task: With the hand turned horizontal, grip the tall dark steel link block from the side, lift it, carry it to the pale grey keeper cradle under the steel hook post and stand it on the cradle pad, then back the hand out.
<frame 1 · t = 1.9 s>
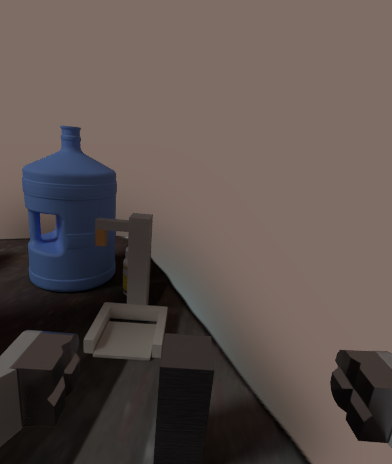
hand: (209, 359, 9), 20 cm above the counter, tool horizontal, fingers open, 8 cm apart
link block: (177, 452, 26), on the counter
water jug: (74, 276, 58), on the counter
supplement bottle: (135, 292, 54), on the counter
keeper: (127, 340, 40), on the counter
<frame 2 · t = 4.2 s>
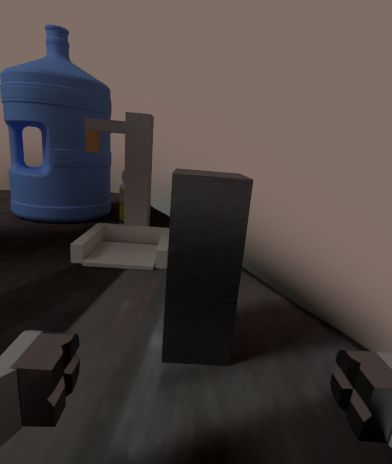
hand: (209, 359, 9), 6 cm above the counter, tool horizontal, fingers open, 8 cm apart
link block: (194, 342, 19), on the counter
water jug: (64, 214, 51), on the counter
supplement bottle: (134, 226, 47), on the counter
keeper: (125, 255, 33), on the counter
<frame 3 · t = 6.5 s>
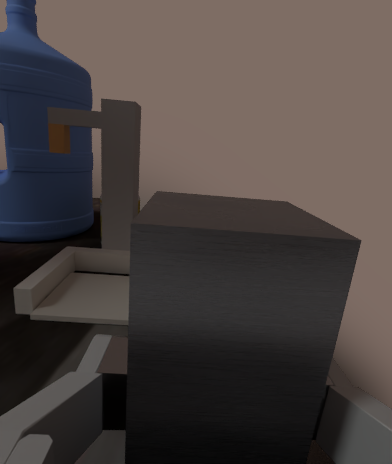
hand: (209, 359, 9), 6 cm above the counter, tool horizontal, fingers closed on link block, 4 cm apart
water jug: (35, 228, 41), on the counter
keeper: (98, 297, 24), on the counter
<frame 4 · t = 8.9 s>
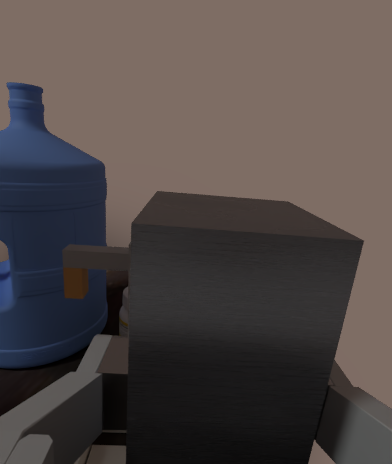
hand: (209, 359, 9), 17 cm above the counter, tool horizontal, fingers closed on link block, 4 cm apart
water jug: (43, 329, 37), on the counter
supplement bottle: (140, 360, 33), on the counter
when the fingers open (7 cm above the counter, at t = 11.6 s): link block drops 1 cm, resting on keeper.
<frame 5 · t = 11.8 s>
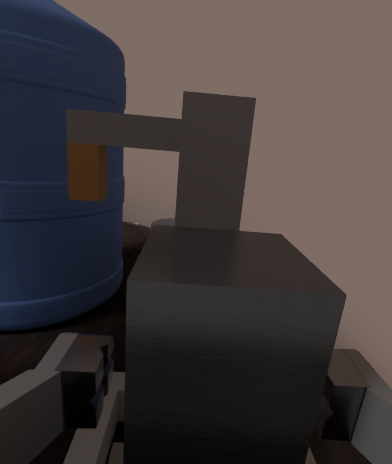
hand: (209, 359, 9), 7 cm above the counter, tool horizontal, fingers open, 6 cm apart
water jug: (38, 288, 28), on the counter
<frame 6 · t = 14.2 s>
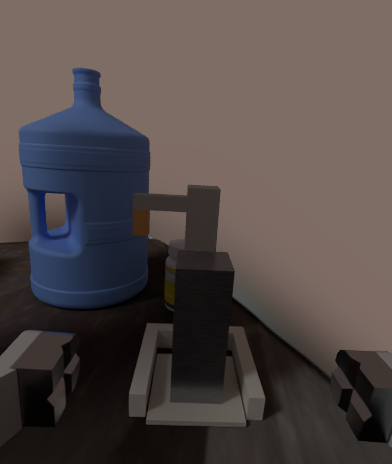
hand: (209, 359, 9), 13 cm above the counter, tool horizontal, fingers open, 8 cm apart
link block: (195, 383, 24), resting on keeper
water jug: (93, 286, 42), on the counter
supplement bottle: (182, 306, 38), on the counter
keeper: (195, 387, 24), on the counter
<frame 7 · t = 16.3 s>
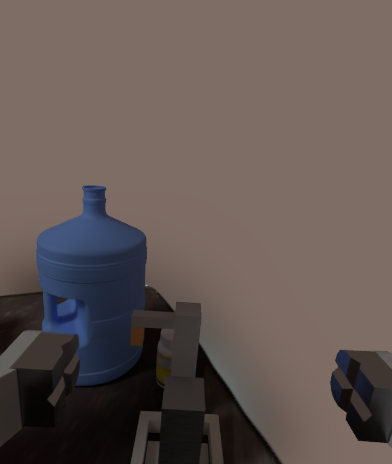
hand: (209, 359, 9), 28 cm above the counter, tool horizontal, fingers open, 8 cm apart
water jug: (95, 354, 49), on the counter
supplement bottle: (171, 380, 45), on the counter
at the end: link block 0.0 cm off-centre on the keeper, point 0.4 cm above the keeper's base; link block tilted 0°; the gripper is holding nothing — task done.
